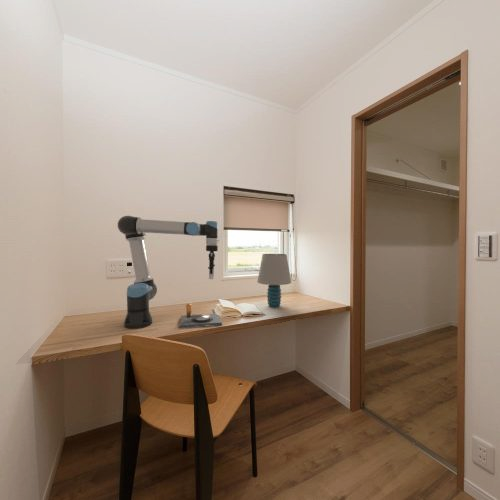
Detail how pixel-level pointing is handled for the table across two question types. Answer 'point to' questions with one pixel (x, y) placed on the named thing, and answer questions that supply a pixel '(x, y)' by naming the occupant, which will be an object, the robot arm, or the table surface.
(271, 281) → the lamp
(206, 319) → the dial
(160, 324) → the table surface
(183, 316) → the panel
